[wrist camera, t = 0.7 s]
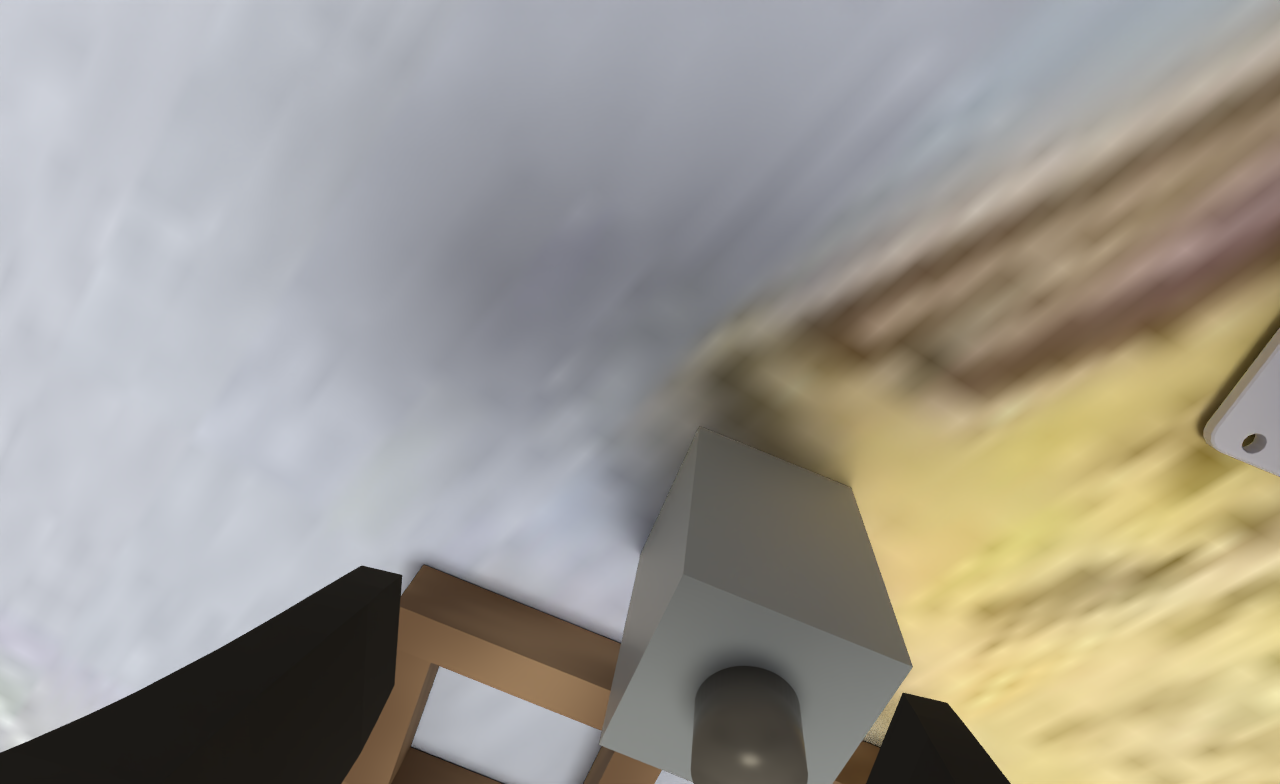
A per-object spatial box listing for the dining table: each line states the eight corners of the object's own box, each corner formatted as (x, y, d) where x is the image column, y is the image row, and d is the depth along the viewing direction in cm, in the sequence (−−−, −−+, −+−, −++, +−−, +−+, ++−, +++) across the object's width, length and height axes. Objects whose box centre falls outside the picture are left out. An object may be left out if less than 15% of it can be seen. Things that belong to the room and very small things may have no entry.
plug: (851, 487, 19) (935, 732, 11) (780, 610, 21) (811, 900, 13) (699, 425, 19) (676, 628, 11) (640, 554, 21) (584, 810, 13)
